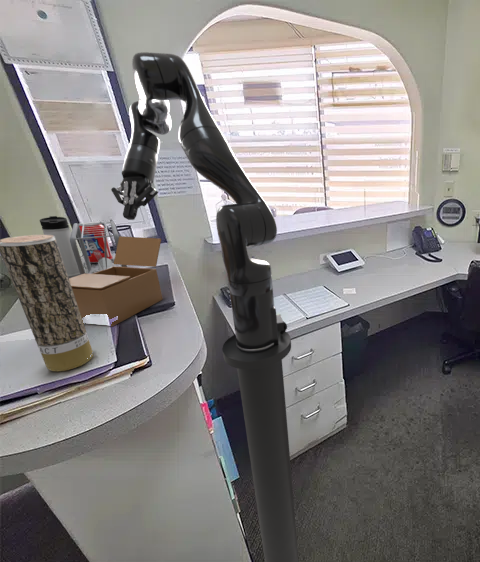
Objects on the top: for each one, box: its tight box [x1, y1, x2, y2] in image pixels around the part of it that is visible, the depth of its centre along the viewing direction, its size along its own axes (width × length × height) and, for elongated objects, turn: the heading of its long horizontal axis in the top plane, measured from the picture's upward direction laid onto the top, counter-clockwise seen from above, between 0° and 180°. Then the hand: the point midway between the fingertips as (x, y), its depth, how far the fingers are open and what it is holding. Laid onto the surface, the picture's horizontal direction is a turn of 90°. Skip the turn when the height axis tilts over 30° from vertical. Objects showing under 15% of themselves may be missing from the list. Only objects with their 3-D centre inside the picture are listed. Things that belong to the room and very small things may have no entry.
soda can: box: [79, 221, 113, 264], centre depth 119 cm, size 8×8×15 cm
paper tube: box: [0, 234, 94, 372], centre depth 57 cm, size 7×7×25 cm
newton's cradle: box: [70, 220, 128, 275], centre depth 99 cm, size 30×10×18 cm, turn 41°
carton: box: [69, 265, 164, 328], centre depth 81 cm, size 17×13×10 cm
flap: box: [113, 235, 162, 268], centre depth 88 cm, size 8×13×1 cm
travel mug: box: [39, 215, 80, 278], centre depth 102 cm, size 6×7×20 cm
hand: (128, 218), depth 87 cm, fingers closed
